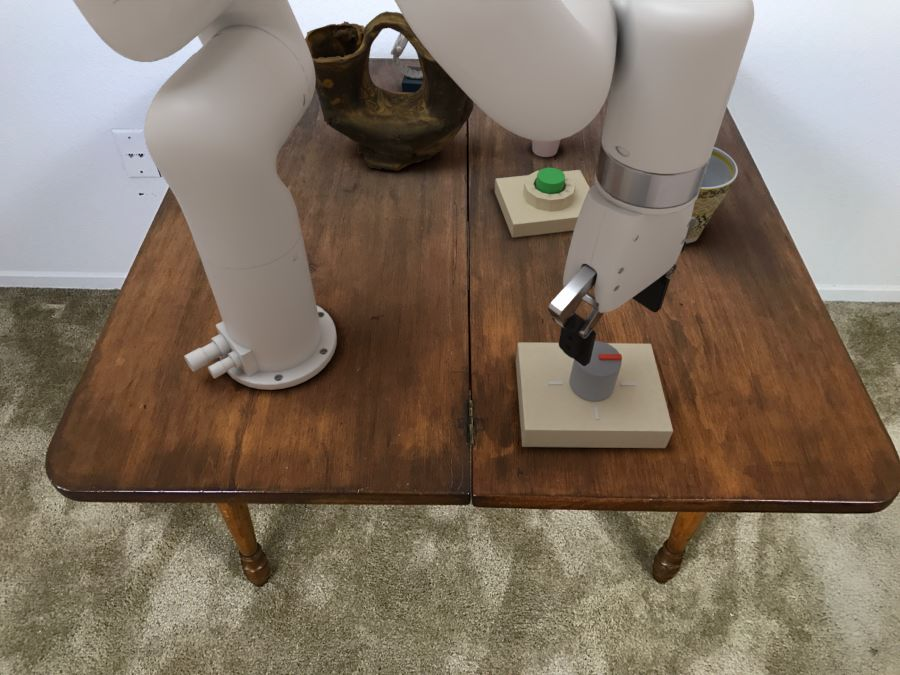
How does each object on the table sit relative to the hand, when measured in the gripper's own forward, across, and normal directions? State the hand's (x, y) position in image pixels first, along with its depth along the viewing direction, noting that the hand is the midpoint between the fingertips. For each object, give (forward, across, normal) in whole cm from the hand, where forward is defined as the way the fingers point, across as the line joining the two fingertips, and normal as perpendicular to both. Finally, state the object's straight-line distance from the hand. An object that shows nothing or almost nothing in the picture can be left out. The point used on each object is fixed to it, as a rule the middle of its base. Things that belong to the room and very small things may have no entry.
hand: (610, 328), depth 61 cm
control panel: (+11, 0, 0) cm, 11 cm away
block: (+11, -20, -25) cm, 34 cm away
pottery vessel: (+11, -13, -48) cm, 51 cm away
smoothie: (+11, -30, -35) cm, 47 cm away
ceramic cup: (+12, -31, -12) cm, 35 cm away
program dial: (+8, 0, 0) cm, 8 cm away
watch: (+11, -26, -60) cm, 66 cm away
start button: (+7, -20, -25) cm, 33 cm away
